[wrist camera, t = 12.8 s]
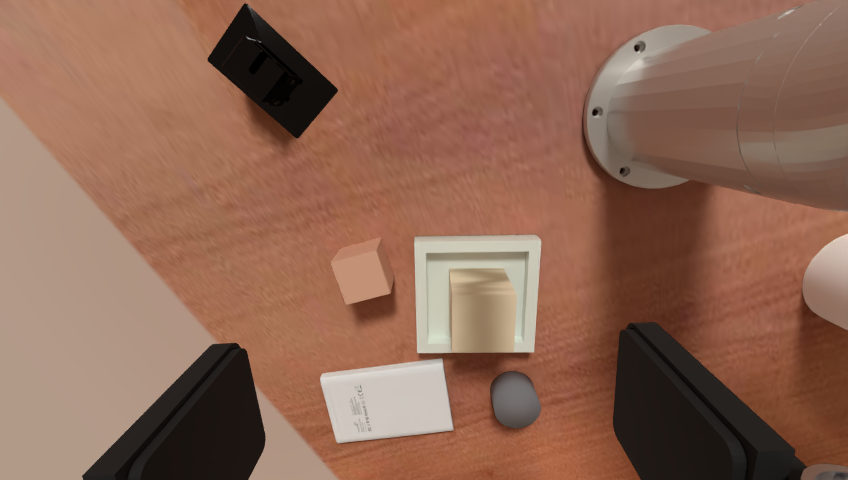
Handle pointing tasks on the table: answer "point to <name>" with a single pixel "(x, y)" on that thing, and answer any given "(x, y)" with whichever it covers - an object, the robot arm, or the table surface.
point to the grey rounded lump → (514, 399)
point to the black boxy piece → (271, 72)
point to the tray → (473, 252)
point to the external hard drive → (388, 401)
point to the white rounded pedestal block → (829, 282)
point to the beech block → (481, 310)
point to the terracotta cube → (363, 271)
